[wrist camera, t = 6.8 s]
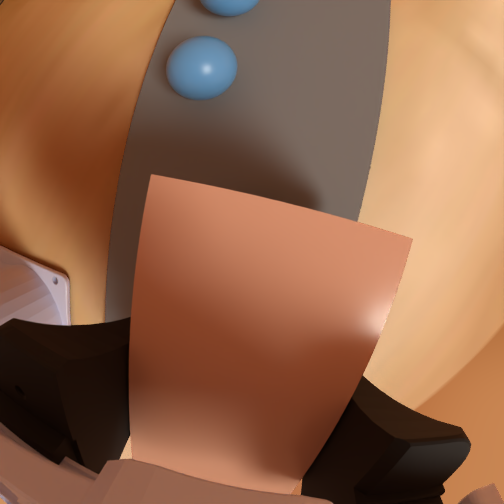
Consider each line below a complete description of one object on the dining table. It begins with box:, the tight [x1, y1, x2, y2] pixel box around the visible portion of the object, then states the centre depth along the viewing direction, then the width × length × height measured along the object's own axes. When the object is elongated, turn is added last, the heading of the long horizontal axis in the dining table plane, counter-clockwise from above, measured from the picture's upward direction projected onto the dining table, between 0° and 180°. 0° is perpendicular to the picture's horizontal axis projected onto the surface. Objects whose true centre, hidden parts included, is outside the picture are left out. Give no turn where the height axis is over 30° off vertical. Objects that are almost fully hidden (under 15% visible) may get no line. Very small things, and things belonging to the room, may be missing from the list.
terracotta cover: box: [129, 174, 413, 494], centre depth 9 cm, size 5×11×6 cm, turn 167°
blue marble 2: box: [166, 36, 237, 100], centre depth 10 cm, size 3×3×3 cm
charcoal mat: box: [105, 0, 391, 323], centre depth 13 cm, size 12×26×1 cm, turn 167°
